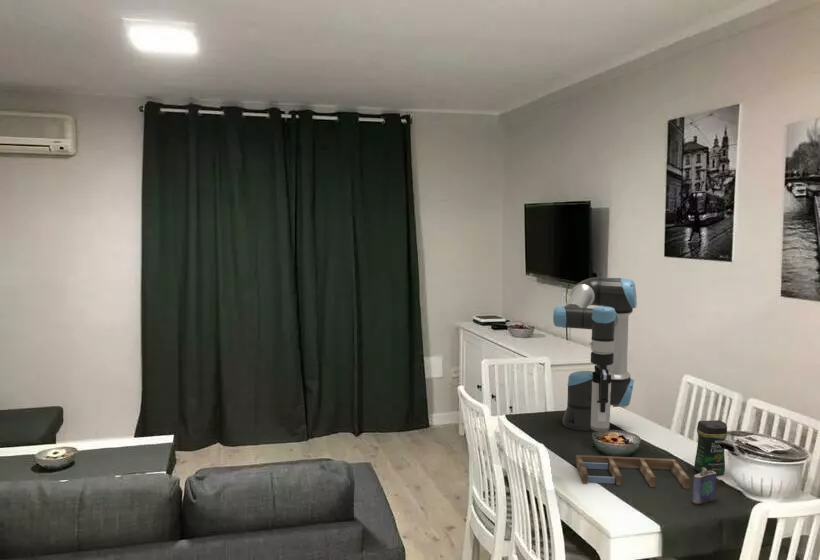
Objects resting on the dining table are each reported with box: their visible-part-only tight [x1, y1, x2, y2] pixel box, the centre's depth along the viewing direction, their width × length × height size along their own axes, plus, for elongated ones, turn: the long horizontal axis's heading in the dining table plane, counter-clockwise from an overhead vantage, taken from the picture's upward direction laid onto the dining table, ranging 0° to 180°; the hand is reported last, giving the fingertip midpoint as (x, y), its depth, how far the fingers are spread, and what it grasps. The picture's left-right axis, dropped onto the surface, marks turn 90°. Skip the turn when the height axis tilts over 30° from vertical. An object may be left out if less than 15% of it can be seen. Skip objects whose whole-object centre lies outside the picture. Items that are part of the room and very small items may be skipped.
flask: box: [692, 467, 718, 505], centre depth 212 cm, size 9×3×11 cm, turn 117°
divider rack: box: [575, 454, 691, 490], centre depth 232 cm, size 18×34×4 cm, turn 84°
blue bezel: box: [583, 462, 616, 485], centre depth 232 cm, size 14×9×2 cm, turn 174°
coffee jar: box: [694, 419, 728, 476], centre depth 235 cm, size 10×8×19 cm
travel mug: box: [591, 371, 611, 433], centre depth 229 cm, size 6×7×20 cm
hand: (599, 417), depth 230 cm, fingers closed on travel mug, 6 cm apart
